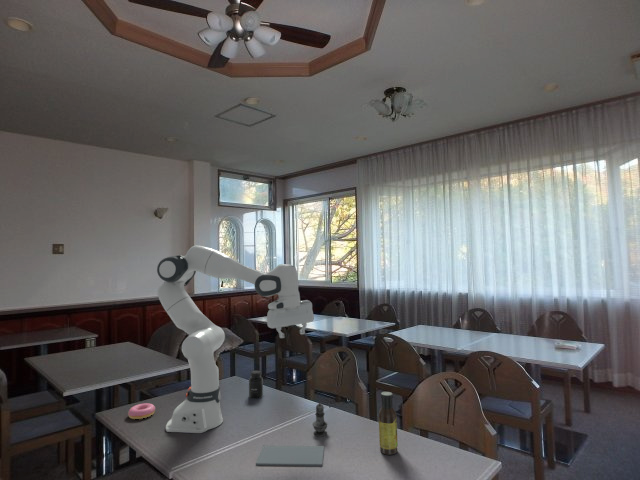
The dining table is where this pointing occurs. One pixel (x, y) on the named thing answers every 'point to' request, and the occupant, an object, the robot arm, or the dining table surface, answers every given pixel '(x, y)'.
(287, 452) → the mat
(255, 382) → the supplement bottle
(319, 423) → the dark carved figurine
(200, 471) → the dining table surface
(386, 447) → the sauce bottle
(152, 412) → the doughnut
